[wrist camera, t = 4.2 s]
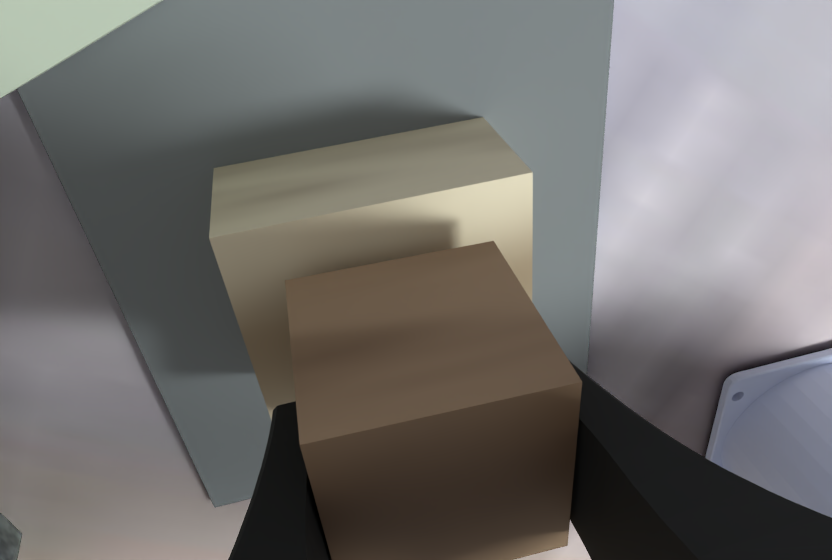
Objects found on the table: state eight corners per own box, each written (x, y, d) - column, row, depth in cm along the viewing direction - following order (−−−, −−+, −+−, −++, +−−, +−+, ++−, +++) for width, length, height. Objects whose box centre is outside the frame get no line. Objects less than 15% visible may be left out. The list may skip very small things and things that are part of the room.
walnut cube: (495, 390, 16) (567, 545, 13) (321, 429, 16) (343, 603, 12) (493, 241, 14) (582, 382, 10) (284, 280, 13) (299, 445, 10)
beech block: (491, 322, 21) (531, 397, 18) (277, 372, 20) (284, 459, 17) (483, 117, 17) (532, 172, 14) (213, 168, 16) (208, 237, 13)
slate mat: (580, 407, 25) (583, 412, 24) (214, 500, 23) (214, 507, 23) (618, -152, 14) (624, -152, 14) (-47, -60, 13) (-53, -59, 12)
